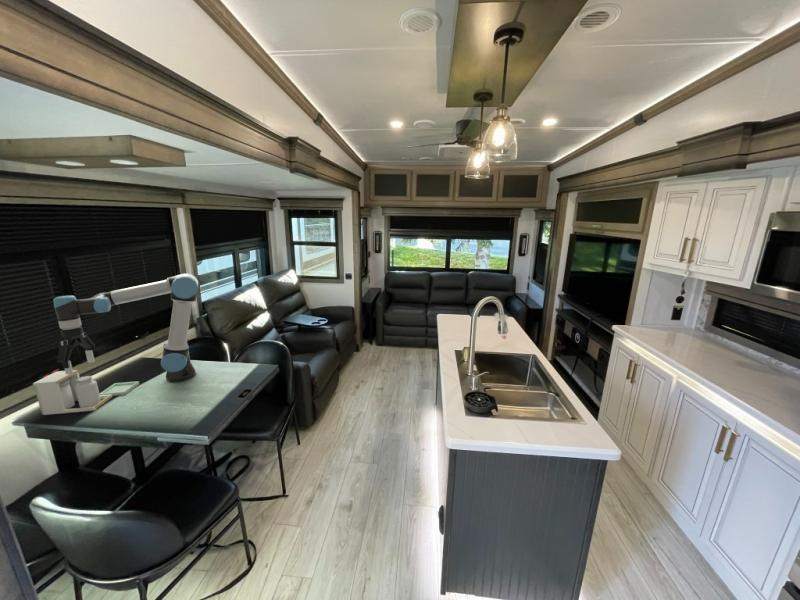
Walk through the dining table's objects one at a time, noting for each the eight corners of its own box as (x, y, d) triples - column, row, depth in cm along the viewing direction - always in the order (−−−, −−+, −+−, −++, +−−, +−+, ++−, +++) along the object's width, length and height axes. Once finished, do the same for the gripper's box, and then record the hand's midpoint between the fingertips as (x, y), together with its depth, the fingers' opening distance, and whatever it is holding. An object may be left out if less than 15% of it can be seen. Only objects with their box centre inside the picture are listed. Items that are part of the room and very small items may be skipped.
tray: (139, 384, 185) (138, 381, 185) (125, 394, 173) (124, 391, 173) (115, 385, 183) (114, 383, 183) (99, 396, 171) (98, 394, 171)
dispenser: (112, 396, 171) (105, 367, 167) (94, 410, 159) (86, 379, 155) (64, 401, 168) (56, 371, 164) (42, 415, 155) (32, 383, 151)
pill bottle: (88, 409, 159) (81, 382, 156) (75, 407, 161) (68, 380, 158) (105, 401, 167) (99, 375, 164) (93, 399, 169) (86, 373, 165)
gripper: (82, 320, 166) (91, 358, 171) (38, 336, 142) (50, 379, 147) (98, 319, 167) (107, 357, 172) (57, 335, 143) (68, 378, 148)
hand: (81, 367), depth 159 cm, fingers open, 13 cm apart
